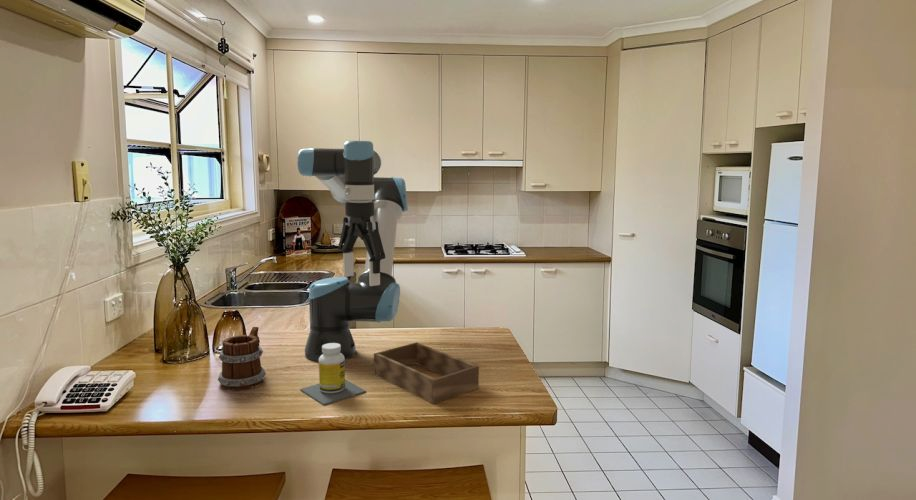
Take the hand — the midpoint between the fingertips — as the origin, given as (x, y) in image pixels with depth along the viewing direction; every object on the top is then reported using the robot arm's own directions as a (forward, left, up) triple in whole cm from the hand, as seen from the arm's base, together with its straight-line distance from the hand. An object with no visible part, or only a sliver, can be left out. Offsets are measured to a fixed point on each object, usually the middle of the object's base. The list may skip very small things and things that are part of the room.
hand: (361, 280), depth 148 cm
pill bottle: (+3, -11, -27) cm, 29 cm away
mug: (-18, -25, -27) cm, 41 cm away
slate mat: (+4, -11, -27) cm, 29 cm away
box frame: (+14, +11, -27) cm, 32 cm away
